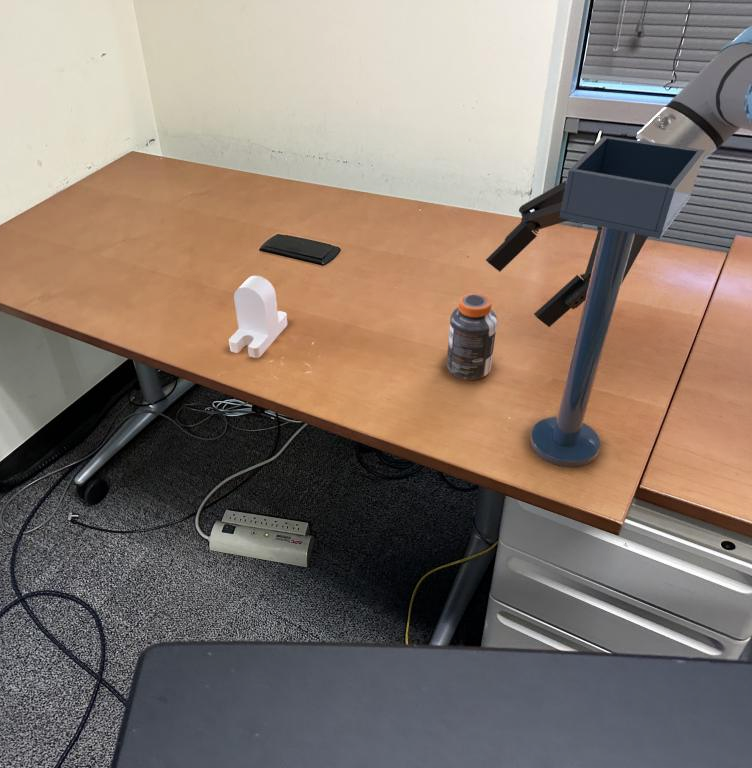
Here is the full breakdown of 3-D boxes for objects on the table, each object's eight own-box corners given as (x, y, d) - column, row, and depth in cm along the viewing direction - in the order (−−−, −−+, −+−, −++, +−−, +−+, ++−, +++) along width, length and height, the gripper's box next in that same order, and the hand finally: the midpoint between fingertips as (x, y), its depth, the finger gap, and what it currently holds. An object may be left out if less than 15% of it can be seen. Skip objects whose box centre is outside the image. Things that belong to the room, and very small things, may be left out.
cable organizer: (288, 323, 109) (283, 268, 103) (258, 358, 103) (250, 303, 97) (260, 316, 112) (253, 262, 105) (228, 351, 105) (219, 296, 99)
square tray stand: (613, 437, 83) (705, 149, 60) (586, 480, 78) (675, 188, 56) (543, 411, 88) (603, 135, 65) (514, 450, 83) (568, 170, 60)
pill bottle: (500, 369, 95) (510, 301, 87) (467, 387, 93) (476, 318, 85) (468, 349, 99) (475, 282, 91) (436, 365, 97) (442, 298, 90)
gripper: (582, 106, 87) (459, 233, 97) (716, 184, 68) (547, 333, 77) (612, 139, 91) (491, 259, 100) (748, 223, 72) (583, 361, 81)
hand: (515, 292), depth 89 cm, fingers open, 13 cm apart
